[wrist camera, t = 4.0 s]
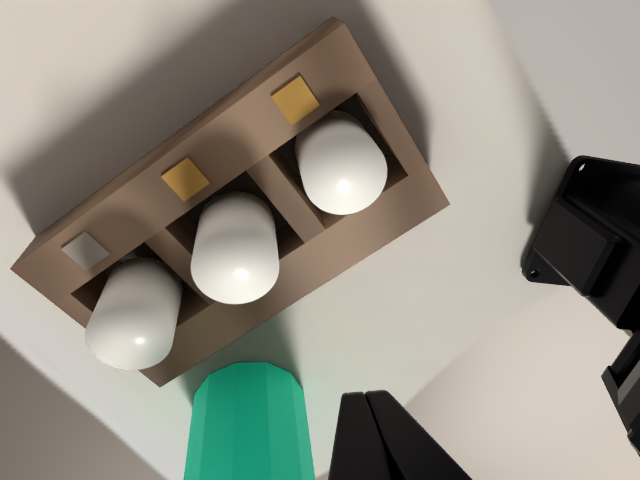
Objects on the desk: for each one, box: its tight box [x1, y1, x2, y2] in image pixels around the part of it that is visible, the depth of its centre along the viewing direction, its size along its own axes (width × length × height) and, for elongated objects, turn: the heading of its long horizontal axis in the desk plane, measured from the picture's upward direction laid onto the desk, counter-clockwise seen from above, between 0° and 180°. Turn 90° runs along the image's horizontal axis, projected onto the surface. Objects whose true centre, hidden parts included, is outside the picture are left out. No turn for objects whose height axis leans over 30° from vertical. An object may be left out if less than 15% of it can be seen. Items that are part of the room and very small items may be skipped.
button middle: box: [191, 192, 279, 304], centre depth 18 cm, size 3×3×3 cm
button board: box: [10, 17, 450, 387], centre depth 20 cm, size 15×8×3 cm, turn 123°
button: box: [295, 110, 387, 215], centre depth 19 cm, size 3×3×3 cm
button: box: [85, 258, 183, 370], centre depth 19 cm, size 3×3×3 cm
